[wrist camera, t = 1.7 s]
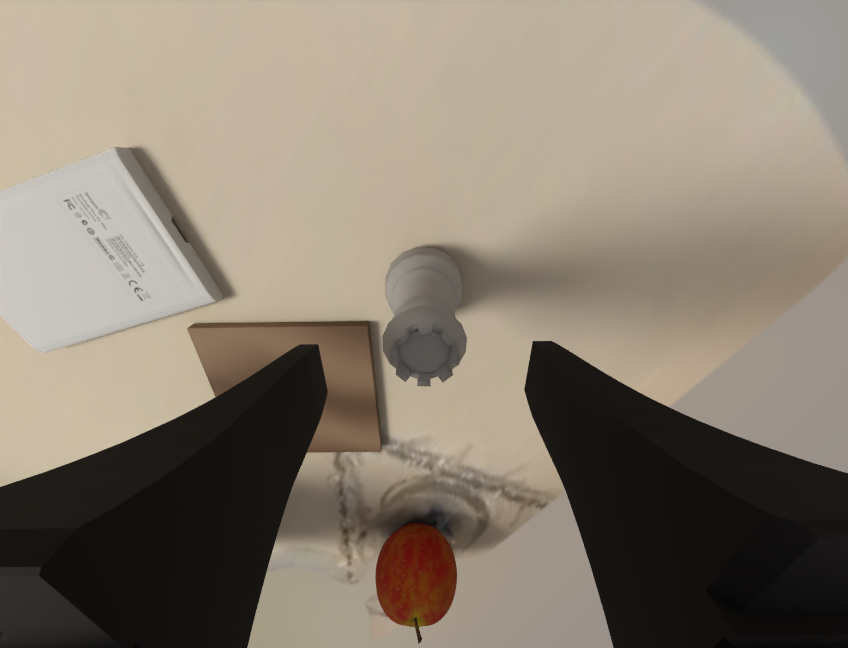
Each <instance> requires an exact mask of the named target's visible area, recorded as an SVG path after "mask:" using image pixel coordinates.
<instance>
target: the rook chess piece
mask: <svg viewBox="0 0 848 648" xmlns="http://www.w3.org/2000/svg"><path fill="white" fill-rule="evenodd" d="M462 280H463V279H462V276H461V273H460V270H459V267H458V265H457V264H456V263H455V262H454V261H453V259H452V258H451V257H450V256H449V255H448V254H446V253H444V252H442V251H440V250H437V249H435V248H431V247H416V248H414V249H411V250H408V251H406V252H403V253H402V254H401V255H400V256H399V257H397V258H396V259H395V260H394V261H393V262H392V263H391V265H390V268H389V270H388V273H387V275H386V282H385V291H386V299H387V301H388V303H389V305H390V307H391V309H392V312H393V313H394V317H393V319H392V320H391V321H390V322H389V323H388V326H387V328H386V330H385V332H384V335H383V352H384V353H385V355H386V357H387V359H388V361H389V363H390V364H391V365H392V366H393V367H395V368H396V375H397V376H399V377H400V378H401V379H402V380H404V381H405V382H406V381H407V379H408V378H409V377H410V376H411V377H414V378H417V379H418V385H417V386H430V379H431V378H434V377H437V376H439V378H440V379H441V381H442V382H444V381H445V380H447V379H448V378H449V377H451V376H452V375H453V374H452V369H453V368H454V367H456V366H457V365H459V362H460V361H461V359H462V357H463V356H464V354H465V352H466V342H467V337H466V335H465V332H464V329H463V327H462V324H461V323H460V322H459V321H458V320H457V319H456V317H455V315H454V313H455V311H456V309H457V307H458V306H459V304H460V302H461V300H462V292H463V283H462Z"/></svg>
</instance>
